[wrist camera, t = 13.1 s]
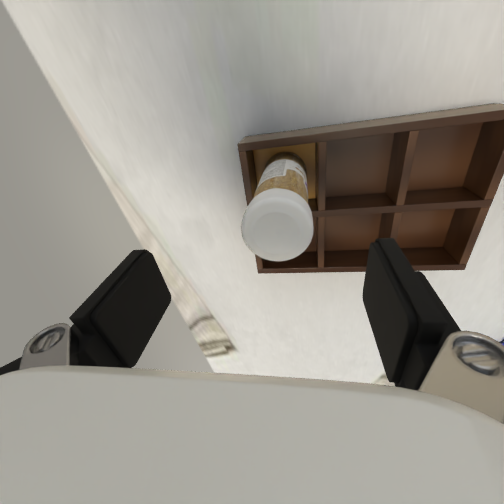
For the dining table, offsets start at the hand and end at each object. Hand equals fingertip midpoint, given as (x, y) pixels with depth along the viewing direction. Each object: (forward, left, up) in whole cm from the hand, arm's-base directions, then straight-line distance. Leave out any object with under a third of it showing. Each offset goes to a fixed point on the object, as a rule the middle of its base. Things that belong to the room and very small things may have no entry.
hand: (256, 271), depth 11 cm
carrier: (+4, +8, -19) cm, 21 cm away
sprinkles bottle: (+1, 0, -19) cm, 19 cm away
